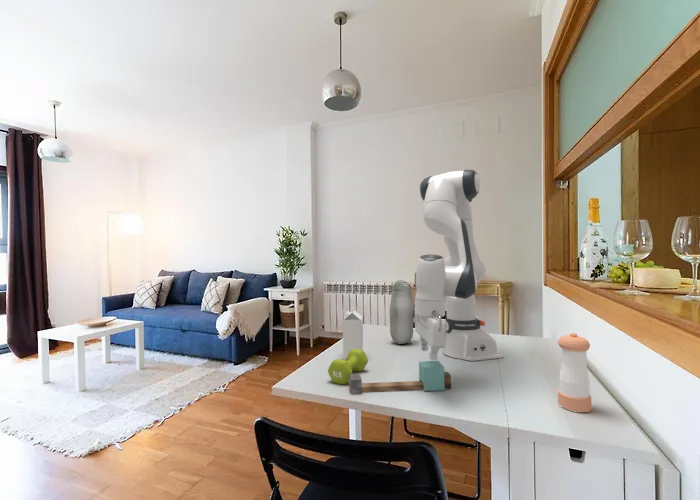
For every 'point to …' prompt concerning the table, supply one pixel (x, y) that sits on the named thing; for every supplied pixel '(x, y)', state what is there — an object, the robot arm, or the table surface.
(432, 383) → the block
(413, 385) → the rail
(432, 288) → the robot arm
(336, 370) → the dumbbell
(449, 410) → the table surface
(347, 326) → the milk carton
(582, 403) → the pepper shaker
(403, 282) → the glass bottle
